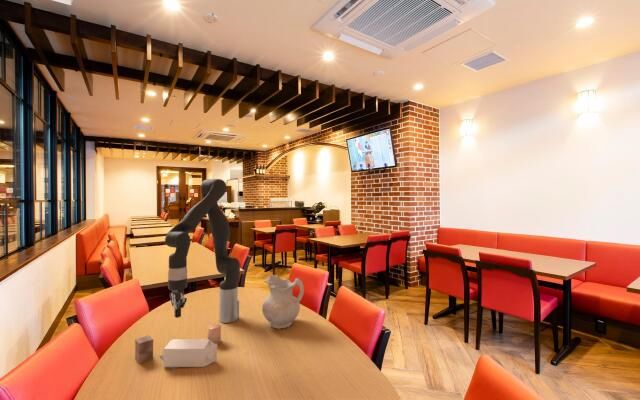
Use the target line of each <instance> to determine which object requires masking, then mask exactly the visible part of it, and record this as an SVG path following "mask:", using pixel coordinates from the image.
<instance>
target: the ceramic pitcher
mask: <svg viewBox="0 0 640 400" xmlns="http://www.w3.org/2000/svg"><path fill="white" fill-rule="evenodd" d="M264 282H265V283H266V284H267V285H268V288H269V292H270V294H269V296H268V297H267V298H265V299H264V301H263V303H262V310H261V311H262V314H263V316H264V319H265V320H267V321H268V322H269V323H270V324H269V326H270V327H271V328H273V329H275V328H276V330H281V328H283V329H287V328H286V327H288V328H290V327H289V326H290V325H291V324H292V323H293V321H295V320H296V319H297V317H298V316H299V314H300V313H299V312H300V308H301V304H300V302H301V301H302V298H303V296H304V293H305V292H304V291H305V290H304V287H305V286H304V284H303V281H302V279H301V278H300V277H296V278H294V281H293V282H291V281H290V280H289V279H288V278H280V276H279V275H275V274H271V275H269V276H268V277H267V278H266V279H265V280H264ZM297 286H298V287H299V292H298V295H297V297H296V296H294V295H293V289H294V287H297ZM292 325H293V324H292Z"/></svg>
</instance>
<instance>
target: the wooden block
mask: <svg viewBox="0 0 640 400" xmlns="http://www.w3.org/2000/svg"><path fill="white" fill-rule="evenodd" d="M134 342H135V344H134V346H135V347H134V351H135V352H134V354H135V355H134V358H135V361H136V363H138V365H140V364H143V363H146V362H149V361H152V360H153V359H154V339H153V338H152V336H151V335H149V334H148V335H146V336H142V337H138V338H135V341H134Z"/></svg>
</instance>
